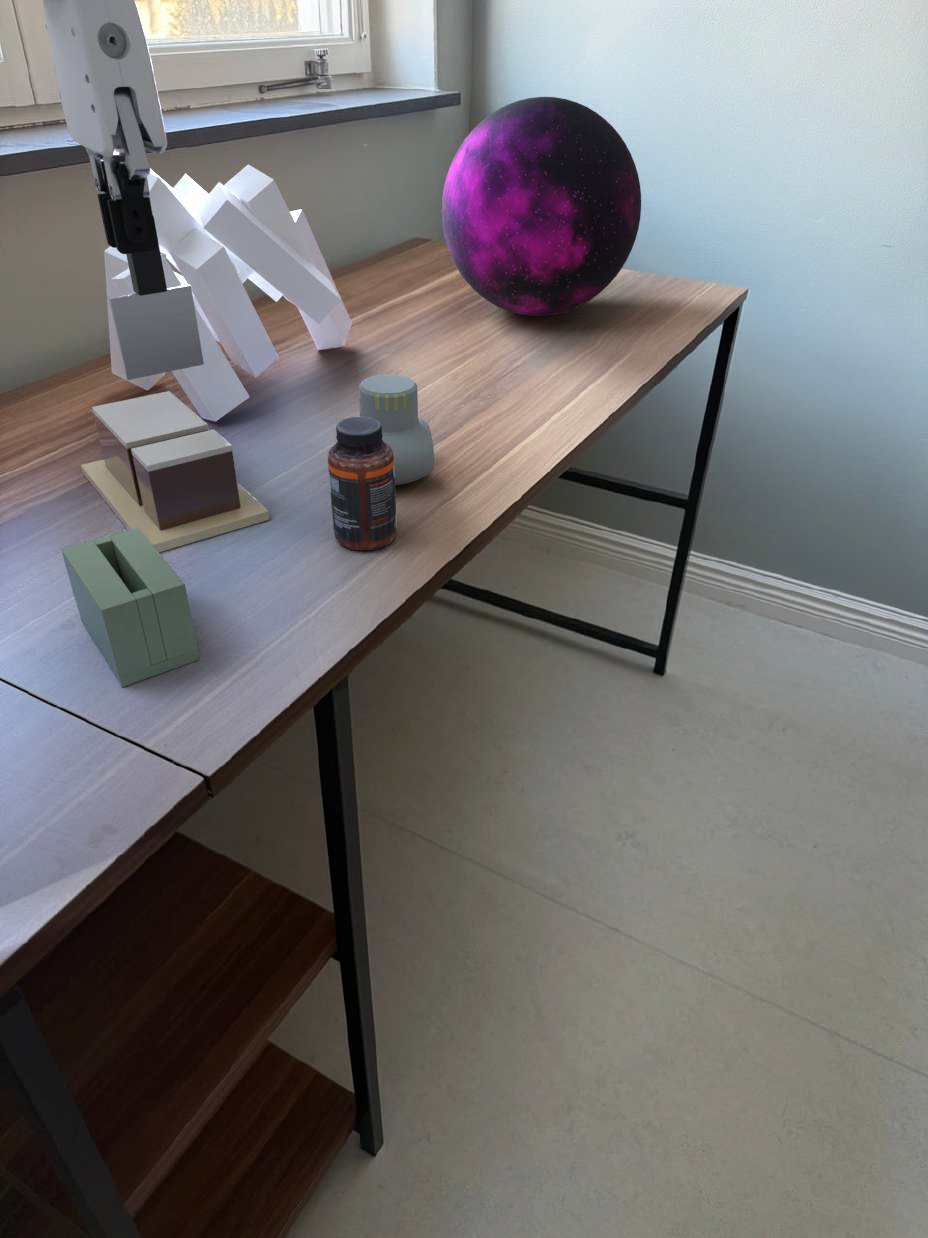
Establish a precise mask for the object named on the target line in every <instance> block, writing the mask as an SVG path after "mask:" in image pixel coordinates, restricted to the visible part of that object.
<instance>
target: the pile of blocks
mask: <svg viewBox="0 0 928 1238" xmlns="http://www.w3.org/2000/svg"><path fill="white" fill-rule="evenodd" d="M147 180H148V186H149V193H150V196H149V197H150V202H151V208H152V214H153V216H154V220H155V226H156V231H157V237H158V242H159V248H160V253H161V259H162V264H163V270H164V275H165V281H166V286H167V288H173V287H179V286H185V285H190V286H191V289H192V295H193V301H194V307H195V313H196V319H197V325H198V331H199V337H200V343H201V349H202V355H203V361H204V365H199V366H194V367H189V368H184V369H180V370H175V371H170V372H171V373H172V374H173V376H174V378H175V379H176V381H177V382H178V384H179V386H180V388H182V390H183V391H184V393H185V394H186V396H187V397H188V400H189V401H190V403H191V404H192V405H193V407H194V408H195V410H196V411H197V413H198V415H199V417H200V418H201V419H203V420H208V421H212V422H215V423H216V422H217V421H218V420H220V419H222V417H224V416H225V415H227V414H228V413H230V412H231V411H232V410H234V409H235V408H237V407H238V406H239V405H241V404H242V403H244V402H245V401H246V400H248V399H249V398H250V395H249V393H248V391H247V390H246V388H245V386H244V385H243V383H242V382H241V380H240V378H239V376H238V375H237V374H236V372H235V370H234V368H233V366H232V365H231V363H230V362H229V360H230V361H231V362H232V363H234V364H235V365H237V366H238V367H240V368H241V369H243V370H244V371H245V372H246V373H249V374H250V375H251V376H252V377H254V378H258V377H259V376H260V375H261V374H262V373H264V371H265V370H267V369H268V368H269V367H270V366H271V365H272V364H274V363H275V362H276V361H277V360H278V359H279V358H280V356H279V355H278V353H277V351H276V348H275V347H274V344H273V343H272V340H271V338H270V336H269V334H268V332H267V330H266V328H265V326H264V324H263V322H262V320H261V318H260V316H259V314H258V312H257V310H256V308H255V306H254V304H253V302H252V300H251V298H250V296H249V294H248V292H247V290H246V288H245V286H244V284H245V282H246V281H247V280H249V281H251V282H252V283H253V284H254V285H255V286H257V287H258V288H259V289H260V290H261V291H262V292H263V293H265V294H266V295H267V296H268V297H270V298H271V299H272V300H273V301H275V302H276V303H278V302H279V300H280V299H282V298H284V299H285V300H286V301H288V302H290V303H291V304H292V305H294V306H295V307H296V308H297V310H298V312H299V314H300V316H301V318H302V320H303V322H304V324H305V327H306V328H307V330H308V332H309V334H310V337H311V338H312V340H313V343H314V344H315V346H316V349H317V351H320V350H328V349H334V348H341V347H345V344H346V342H347V339H348V337H349V334H350V331H351V329H352V325H353V322H352V319H351V317H350V315H349V312H348V310H347V308H346V306H345V304H344V301H343V299H342V296H341V295H340V293H339V290H338V288H337V285H336V283H335V281H334V279H333V276H332V274H331V271H330V270H329V267H328V265H327V263H326V260H325V259H324V255H323V254H322V251H321V250H320V247H319V245H318V241H317V240H316V237H315V235H314V233H313V231H312V229H311V227H310V224H309V222H308V220H307V217H306V215H305V213H304V211H303V209H296V210H291V211H290V209H289V207H288V205H287V203H286V201H285V199H284V197H283V194H282V193H281V191H280V189H279V187H278V185H277V183H276V181H275V179H274V178H272V177H270V176H268V175H267V174H266V173H264V172H262V171H261V170H259V169H257V168H255V167H253V166H252V165H250V164H247V165H245V166H244V167H243V168H242V169H241V170H239V172H237V173H236V174H235V175H234V176H233V177H231V178H230V179H229V180H228V181H227V182H226V183H224V184H223V183H221V182H220V181H218V183H216V185H215V186H214V187H213V188H212V189H211V191H210V192H209V193H208V191H207V190H205V189H204V188H202V186H200V185H199V184H198V183H197V182H196V181H195V180H193V178H191V177H190V176H189V175H188V174H187V173H184V174H183V176H182V177H181V178H180V179H179V180H178V182H177V183H176V184H174V186H171V185H170V184H169V183H168V182H166V181H165V180H164V179H163V178H162V177H160V175H158V174H157V173H156V172H155V171H154V170H152V168H150V173H149V174H148V175H147ZM103 256H104V271H105V272H104V273H105V275H104V276H105V287H106V288H105V289H106V291H105V292H106V305H107V307H106V308H107V320H108V335H109V337H108V338H109V352H110V368H111V369H110V370H111V374H113V375H114V376H117V377H119V378H121V379H123V380H125V381H127V382H128V383H131V384H133V385H135V386H137V387H139V388H141V389H143V390H145V391H147V392H149V391H150V389H152V388H153V387H154V385H156V384H157V383H158V382H159V381H160V380H161V379H163V377H165V375H166V374H167V372H165V373H160V374H155V375H151V376H146V377H141V378H136V379H131V380H127V378H126V374H125V369H124V365H123V360H122V356H121V351H120V347H119V342H118V338H117V333H116V328H115V324H114V319H113V315H112V310H111V306H110V301H109V298H111V297H117V296H123V295H129V294H136V292H134V290H133V285H132V280H131V275H130V270H129V265H128V260H127V255H126V254H122V253H120V252H119V251H118V250H117V248H113V247H111V246H110V245H109V246H108V247H107V248H106V249H105V250H104V251H103ZM168 261H169V262H168ZM171 264H172V266H174V268H175V269H176V270H178V272H179V273H180V274H179V273H177V272H175V271H174V270H173V268H172V266H171ZM219 343H220V344H221V346H222V347H223V349H224V352H225V353H226V354H227V356H228V358H229V360H228V359H227V357H226V355H225V353H224V352H223V350H222V349H221V347H220V345H219Z"/></svg>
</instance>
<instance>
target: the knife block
mask: <svg viewBox="0 0 928 1238" xmlns="http://www.w3.org/2000/svg"><path fill="white" fill-rule="evenodd" d="M60 551H61V555H62V558H63V562H64V565H65V569H66V572H67V576H68V579H69V583H70V586H71V590H72V593H73V597H74V600H75V604H76V607H77V610H78V613H79V614H78V615H79V617H80V621H81V623H82V625H83V627H84V628H85V630H86V631H87V633H88V634H89V636H90V638H91V639H92V642H93V643H94V644H95V646H96V648H97V649H98V651H99V653H100V655H101V656H102V657H103V659H104V660H105V662H106V664H107V666H108V667H109V669H110V671H111V672H112V674H113V675H114V677H115V678H116V681H117V682H118V683H119V684H120V687H122V688H125V687H128V686H130V685H133V684H136V683H139V682H141V681H144V680H146V679H147V680H148V679H149V678H152V677H156V676H158V675H160V674H164V673H166V672H168V671H171V670H174V669H178V668H180V667H183V666H186V665H189V664H192V663H193V662H196V661H200V653H199V649H198V643H197V638H196V633H195V629H194V623H193V617H192V613H191V608H190V603H189V597H188V592H187V588H186V583H185V582H184V581H183V580H182V579H181V577H180V576H179V575H178V573H176V571H175V570H174V569H173V567H171V565H170V564H169V563H168V561H167V560H166V559H165V557H163V555H162V554H161V552H158V551H157V549H156V548H155V547H154V546H153V545H152V543H151V542H150V541H149V540H148V538H147V537H146V536H145V535H144V534H143V532H142V531H141V530H140V529H139V528H138V527H136V528H132V529H129V530H128V529H126V530H125V529H124V530H121V531H118V532H115V533H111V534H108V535H103V536H99V537H97V538H93V539H89V540H85V541H82V542H78V543H75V544H70V545H68V546H64V547H61V548H60Z"/></svg>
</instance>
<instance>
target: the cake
mask: <svg viewBox="0 0 928 1238" xmlns="http://www.w3.org/2000/svg"><path fill="white" fill-rule="evenodd" d="M91 410H92V415H93V419H94V423H95V427H96V432H97V436H98V440H99V443H100V448H101V452H102V456H103V459H100V460H95V461H92V462H87V463H82V464H80V467H81V472H82V474H83V475H84V477H85V478H86V479H87V480H88V482H89V483H90V484H91V485H92V487H93V488H94V489H95V491H96V492H97V493H98V495H100V496H101V498H102V499H103V500H104V502H105V503H106V504H107V505H108V507H109V508H110V509H111V511H112V512H113V513H114V514H115V515H116V516H117V518H118V519H119V520H120V522H122V524H123V525H124V526H125V528H126V530H129V529H132V528H136V527H138V528H139V529H140V530H141V531H142V532H143V534H144V535H145V536H146V537H147V538H148V540H149V541H150V542H151V543H152V545H153V546H154V547H155V548H156V549H157V551H158V552H159V553H162V552H165V551H168V550H172V549H176V548H179V547H182V546H185V545H189V544H192V543H196V542H199V541H202V540H206V539H209V538H213V537H216V536H219V535H222V534H226V533H230V532H233V531H237V530H240V529H243V528H247V527H250V526H253V525H257V524H260V523H263V522H266V521H270V520H271V517H270V510H268V509H267V508H266V507H265V506H264V505H263V504H262V503H261V502H260V501H259V500H257V499H256V498H255V496H254V495H252V494H251V493H250V492H249V491H247V490H246V488H245V487H243V486H242V485H241V484H240V483H239V482H238V479H237V472H236V465H235V458H234V452H233V451H234V450H233V449H234V448H233V444H231V443H230V442H229V441H228V440H227V439H226V438H224V437H223V436H222V435H221V434H220V433H219V432H218V431H216V430H215V429H210V430H209V424H208V423H207V422H206V421H204V419H203V418H202V417H201V416H200V415H199V414H197V413H196V412H194V411H193V410H192V409H191V408H190V407H189V406H187V405H186V404H185V403H184V402H182V400H180V399H179V398H178V397H177V396H176V395H175V394H174V393H172V392H171V391H170V390H167V391H163V392H159V393H157V392H156V393H153V394H147V395H144V396H139V397H134V398H129V399H124V400H118V401H114V402H109V403H105V404H104V403H103V404H99V405H95V406H91Z"/></svg>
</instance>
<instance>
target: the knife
mask: <svg viewBox="0 0 928 1238" xmlns="http://www.w3.org/2000/svg"><path fill="white" fill-rule="evenodd" d="M153 219H154V216H153ZM154 225H155V220H154ZM155 231H156V226H155ZM156 236H157V231H156ZM157 242H158V237H157ZM126 255H127V260H128V265H129V270H130V275H131V280H132V285H133V290H134V292H136V294H129V295H123V296H117V297H111V298H109V301H110V306H111V310H112V315H113V319H114V324H115V328H116V333H117V338H118V342H119V347H120V351H121V356H122V360H123V365H124V369H125V374H126V378H127V380H131V379H136V378H141V377H146V376H151V375H155V374H160V373H165V372H166V373H170V372H171V371H175V370H180V369H184V368H189V367H194V366H199V365H204V361H203V355H202V349H201V343H200V337H199V331H198V325H197V319H196V313H195V307H194V301H193V295H192V289H191V286H190V285H185V286H179V287H173V288H167V286H166V281H165V275H164V270H163V264H162V259H161V253H160V248H159V242H158V248H157V249H156V250H153V251H145V252H138V253H130V254H126ZM127 380H126V381H127Z"/></svg>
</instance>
